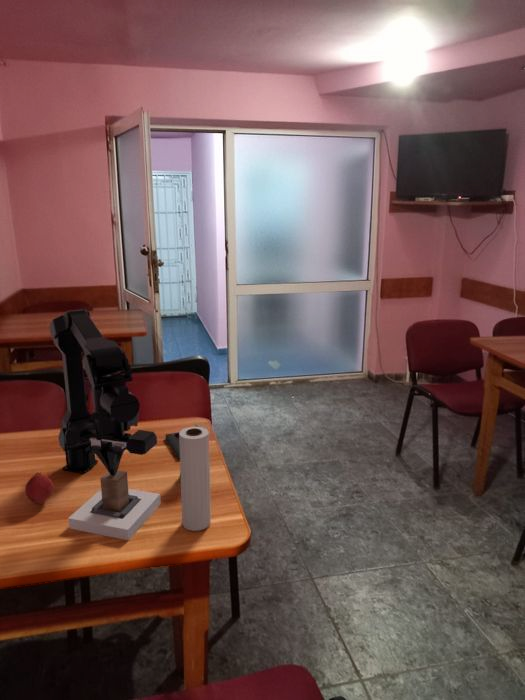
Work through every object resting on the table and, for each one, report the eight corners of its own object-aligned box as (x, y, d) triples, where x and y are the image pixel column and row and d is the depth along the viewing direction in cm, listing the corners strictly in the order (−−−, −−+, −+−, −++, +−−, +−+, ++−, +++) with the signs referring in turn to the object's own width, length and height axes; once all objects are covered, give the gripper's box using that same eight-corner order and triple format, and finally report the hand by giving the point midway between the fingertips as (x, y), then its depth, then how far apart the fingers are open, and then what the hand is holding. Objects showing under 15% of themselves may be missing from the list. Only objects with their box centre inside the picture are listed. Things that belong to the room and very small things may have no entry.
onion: (28, 513, 114) (24, 480, 112) (26, 500, 119) (22, 469, 117) (56, 506, 117) (52, 474, 115) (53, 494, 122) (49, 463, 120)
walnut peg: (103, 519, 112) (100, 477, 109) (113, 509, 116) (110, 469, 113) (120, 522, 111) (116, 480, 108) (129, 512, 115) (127, 471, 112)
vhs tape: (207, 456, 142) (207, 449, 141) (179, 462, 139) (178, 455, 138) (191, 436, 154) (191, 429, 154) (165, 440, 151) (165, 434, 151)
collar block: (69, 528, 109) (68, 515, 108) (106, 494, 122) (105, 482, 121) (128, 540, 105) (127, 527, 104) (160, 503, 118) (160, 492, 117)
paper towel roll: (198, 535, 107) (196, 440, 101) (176, 525, 110) (172, 433, 104) (219, 518, 113) (218, 427, 107) (197, 509, 116) (195, 421, 110)
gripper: (167, 397, 112) (170, 463, 116) (91, 388, 117) (97, 452, 121) (141, 416, 101) (145, 488, 105) (60, 406, 106) (67, 474, 110)
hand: (113, 474), depth 111 cm, fingers closed
